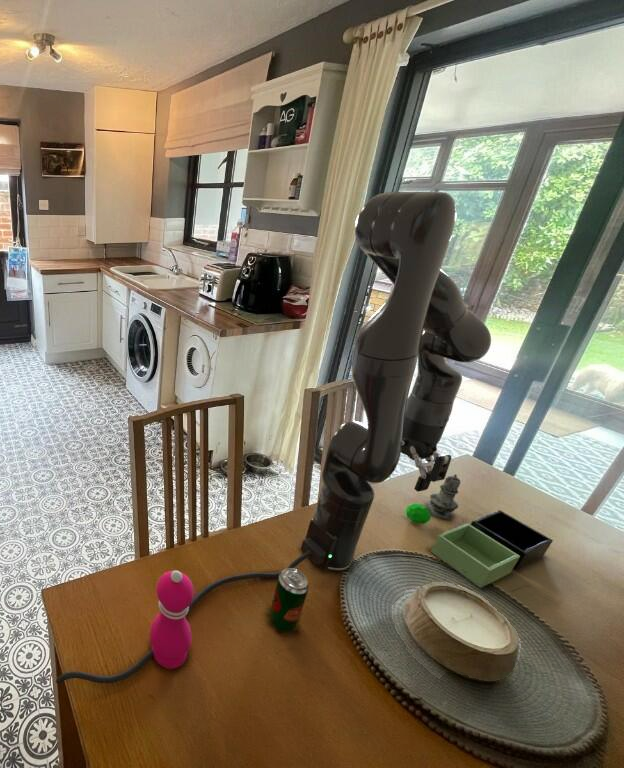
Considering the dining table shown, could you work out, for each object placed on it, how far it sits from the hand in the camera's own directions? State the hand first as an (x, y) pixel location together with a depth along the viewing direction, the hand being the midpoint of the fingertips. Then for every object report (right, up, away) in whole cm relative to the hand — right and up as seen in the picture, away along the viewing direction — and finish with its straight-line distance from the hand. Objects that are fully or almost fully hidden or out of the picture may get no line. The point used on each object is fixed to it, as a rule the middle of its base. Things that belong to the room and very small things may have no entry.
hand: (401, 477), depth 91 cm
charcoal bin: (+26, -17, +4) cm, 31 cm away
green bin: (+15, -19, 0) cm, 24 cm away
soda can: (-32, -25, -13) cm, 43 cm away
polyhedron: (+11, -14, +11) cm, 21 cm away
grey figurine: (+19, -12, +14) cm, 27 cm away
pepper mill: (-55, -27, -18) cm, 64 cm away
